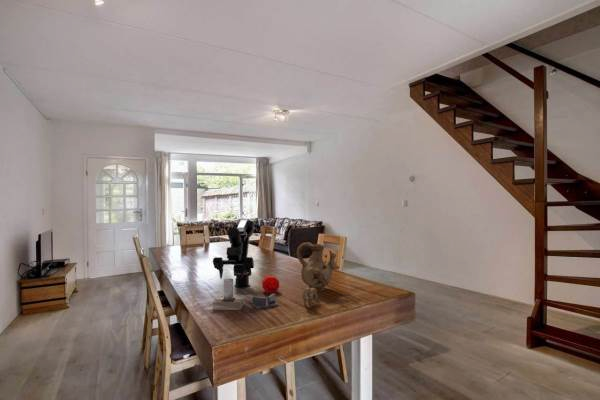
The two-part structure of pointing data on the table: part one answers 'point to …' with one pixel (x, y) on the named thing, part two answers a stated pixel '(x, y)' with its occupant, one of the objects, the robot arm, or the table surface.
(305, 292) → the lion figurine
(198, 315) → the table surface
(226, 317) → the table surface
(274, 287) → the ball
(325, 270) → the ceramic vessel
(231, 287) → the axle
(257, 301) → the V-block
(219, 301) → the block with rectangular hole
